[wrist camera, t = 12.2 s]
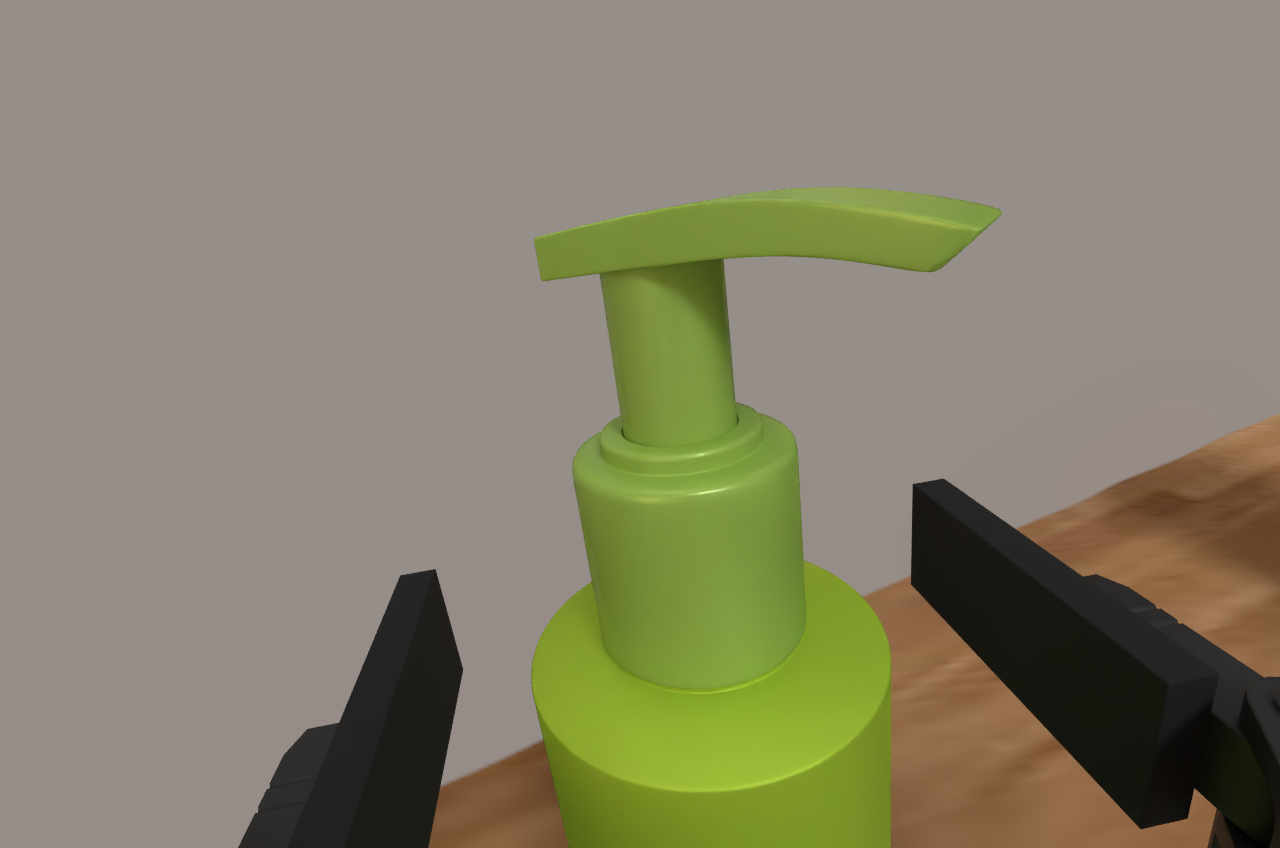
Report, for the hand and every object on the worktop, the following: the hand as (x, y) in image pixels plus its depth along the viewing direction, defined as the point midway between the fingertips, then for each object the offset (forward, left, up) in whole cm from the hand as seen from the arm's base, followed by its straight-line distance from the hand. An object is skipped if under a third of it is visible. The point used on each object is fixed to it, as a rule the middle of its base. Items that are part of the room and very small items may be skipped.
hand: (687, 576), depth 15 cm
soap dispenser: (+4, -2, -12) cm, 13 cm away
